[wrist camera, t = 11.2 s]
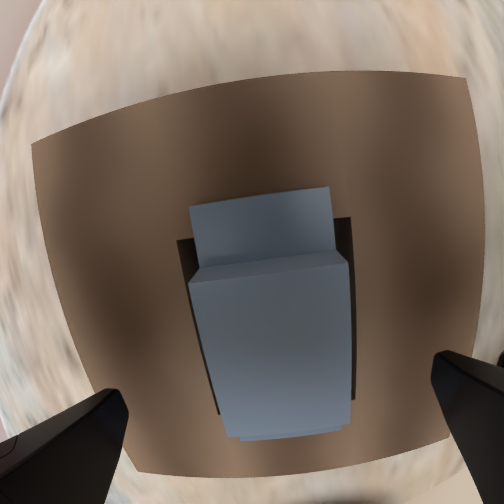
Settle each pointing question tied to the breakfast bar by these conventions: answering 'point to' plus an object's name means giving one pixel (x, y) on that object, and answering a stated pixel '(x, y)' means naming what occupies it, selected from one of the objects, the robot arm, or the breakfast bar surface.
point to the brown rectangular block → (257, 183)
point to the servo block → (274, 313)
